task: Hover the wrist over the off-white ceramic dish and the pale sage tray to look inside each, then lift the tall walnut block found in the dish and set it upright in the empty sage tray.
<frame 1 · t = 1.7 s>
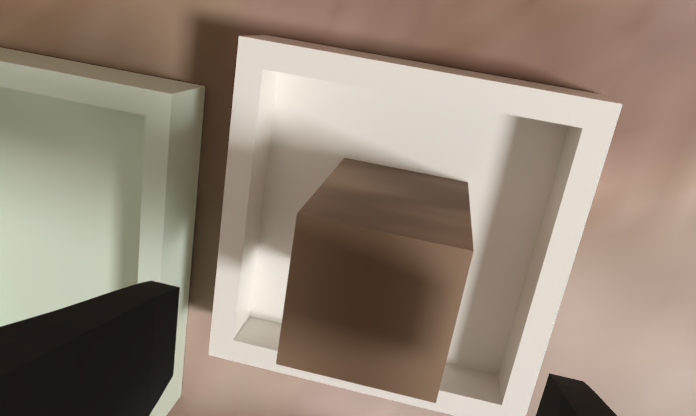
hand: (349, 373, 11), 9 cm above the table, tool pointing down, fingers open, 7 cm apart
sage tray: (74, 228, 22), on the table
walnut block: (393, 227, 19), point 1 cm above the table, touching cream dish
cream dish: (396, 220, 20), on the table
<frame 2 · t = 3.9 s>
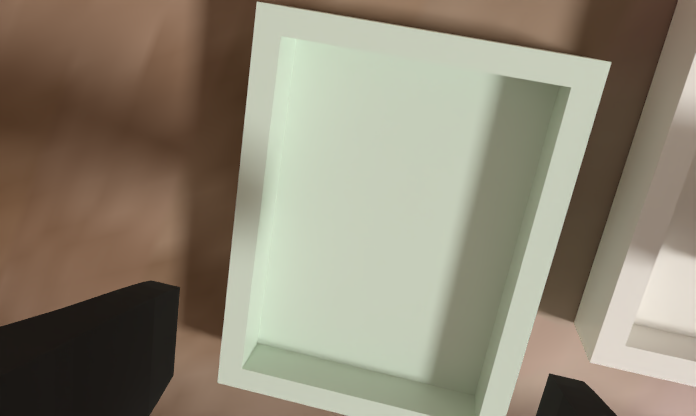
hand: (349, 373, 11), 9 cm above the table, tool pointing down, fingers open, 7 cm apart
sage tray: (393, 220, 20), on the table
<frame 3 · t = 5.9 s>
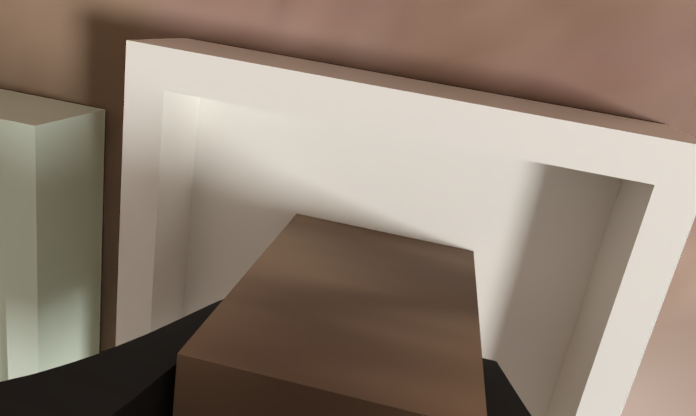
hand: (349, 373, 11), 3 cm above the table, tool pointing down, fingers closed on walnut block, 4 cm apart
walnut block: (368, 311, 14), point 1 cm above the table, touching cream dish, gripper
cream dish: (372, 296, 14), on the table
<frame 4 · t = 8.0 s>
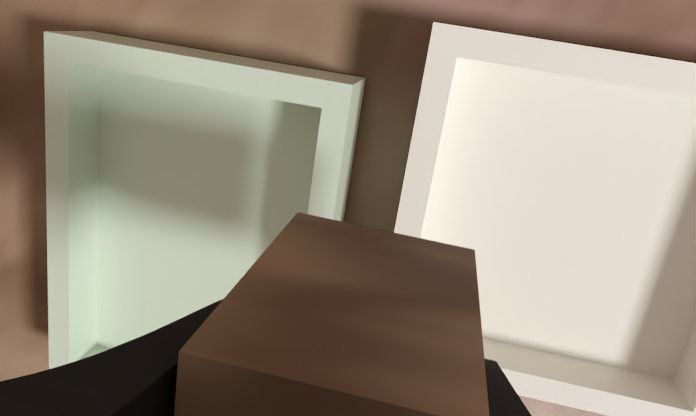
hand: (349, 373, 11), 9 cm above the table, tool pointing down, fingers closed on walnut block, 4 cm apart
sage tray: (210, 229, 21), on the table
walnut block: (369, 309, 14), point 7 cm above the table, touching gripper
cream dish: (565, 217, 19), on the table
when the fingers open (5 cm above the table, at t = 10.0 s): walnut block drops 2 cm, resting on sage tray.
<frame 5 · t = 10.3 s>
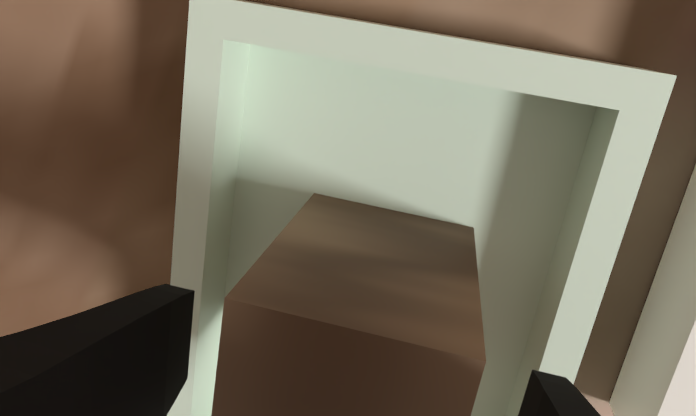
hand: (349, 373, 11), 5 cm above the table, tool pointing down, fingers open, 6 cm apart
sage tray: (380, 272, 16), on the table
walnut block: (377, 282, 15), point 1 cm above the table, touching sage tray
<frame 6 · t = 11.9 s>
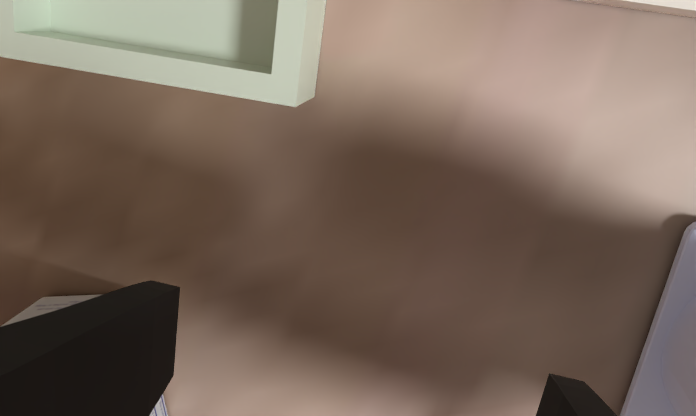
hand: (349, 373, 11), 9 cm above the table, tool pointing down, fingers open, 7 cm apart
medicine box: (119, 375, 24), on the table
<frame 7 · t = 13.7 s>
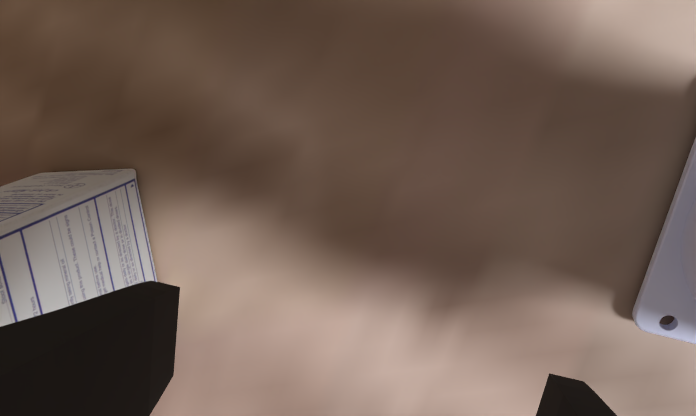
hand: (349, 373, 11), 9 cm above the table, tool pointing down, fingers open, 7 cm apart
medicine box: (115, 261, 24), on the table
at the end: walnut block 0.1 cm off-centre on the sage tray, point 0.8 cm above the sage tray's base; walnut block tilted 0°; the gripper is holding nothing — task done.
